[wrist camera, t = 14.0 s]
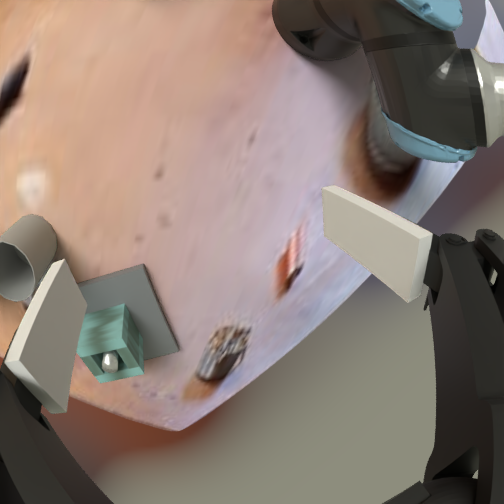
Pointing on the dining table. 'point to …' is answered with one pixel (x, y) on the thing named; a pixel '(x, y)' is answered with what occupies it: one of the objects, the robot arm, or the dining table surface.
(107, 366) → the rod
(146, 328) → the board
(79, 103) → the dining table surface
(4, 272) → the cup
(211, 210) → the dining table surface
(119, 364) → the bead
